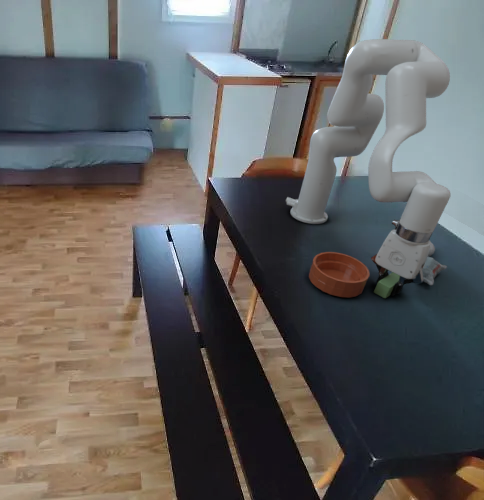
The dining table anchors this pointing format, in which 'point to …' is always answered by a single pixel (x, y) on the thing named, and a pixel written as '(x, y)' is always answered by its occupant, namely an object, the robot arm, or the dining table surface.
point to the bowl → (338, 274)
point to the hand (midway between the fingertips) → (387, 289)
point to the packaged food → (431, 270)
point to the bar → (386, 285)
